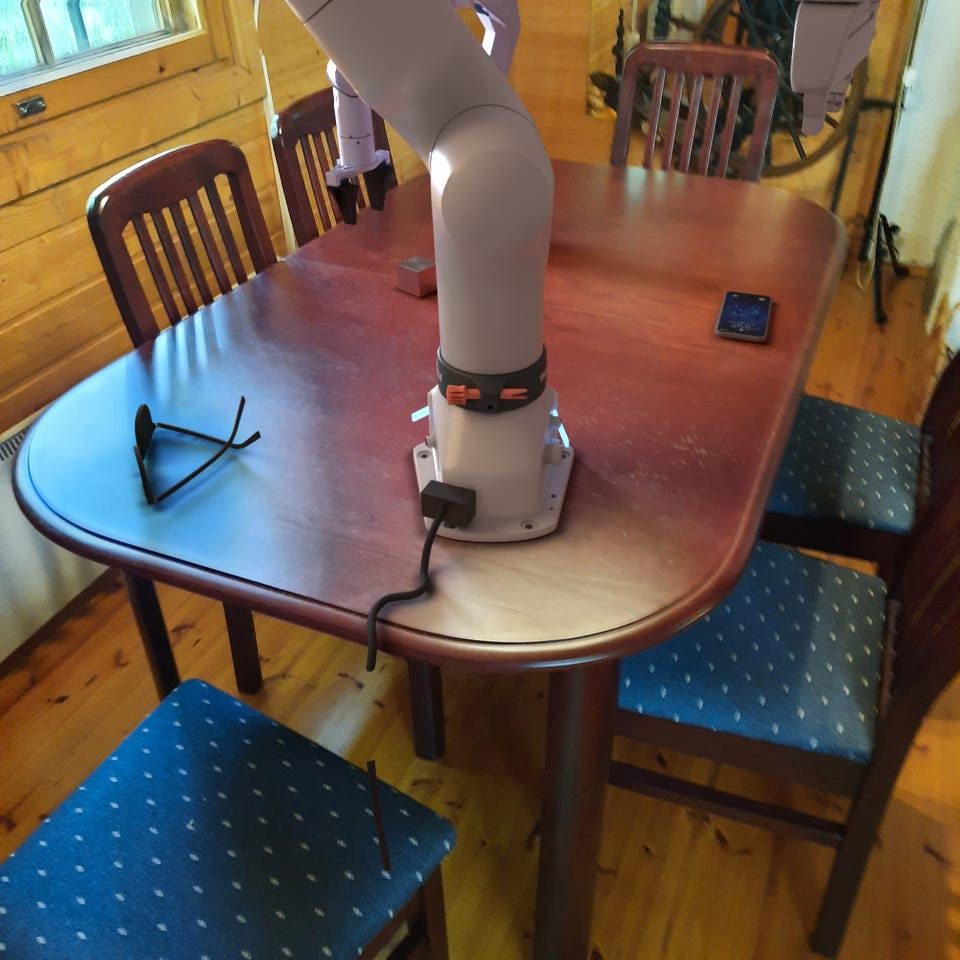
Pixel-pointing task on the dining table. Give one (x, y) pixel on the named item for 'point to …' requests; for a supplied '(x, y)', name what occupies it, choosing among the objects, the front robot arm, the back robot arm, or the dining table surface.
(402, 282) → the block
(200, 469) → the sunglasses
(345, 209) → the back robot arm
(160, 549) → the dining table surface
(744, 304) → the smartphone
